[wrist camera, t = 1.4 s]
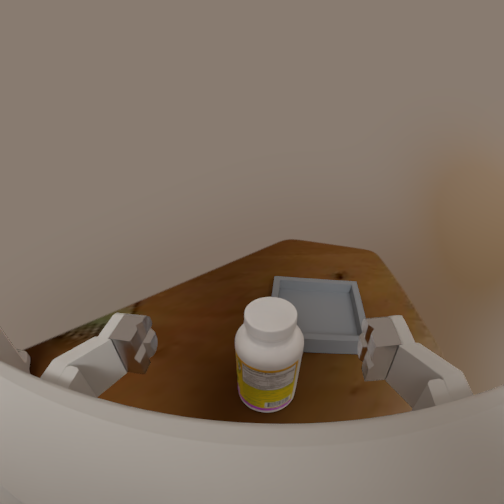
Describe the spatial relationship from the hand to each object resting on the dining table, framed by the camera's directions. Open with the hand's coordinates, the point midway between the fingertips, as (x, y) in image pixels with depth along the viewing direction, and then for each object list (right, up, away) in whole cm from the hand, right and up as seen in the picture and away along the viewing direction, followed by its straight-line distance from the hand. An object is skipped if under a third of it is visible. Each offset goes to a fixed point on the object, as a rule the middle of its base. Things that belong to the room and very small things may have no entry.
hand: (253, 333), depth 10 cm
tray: (+10, -7, +32) cm, 34 cm away
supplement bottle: (+2, -14, +21) cm, 25 cm away
